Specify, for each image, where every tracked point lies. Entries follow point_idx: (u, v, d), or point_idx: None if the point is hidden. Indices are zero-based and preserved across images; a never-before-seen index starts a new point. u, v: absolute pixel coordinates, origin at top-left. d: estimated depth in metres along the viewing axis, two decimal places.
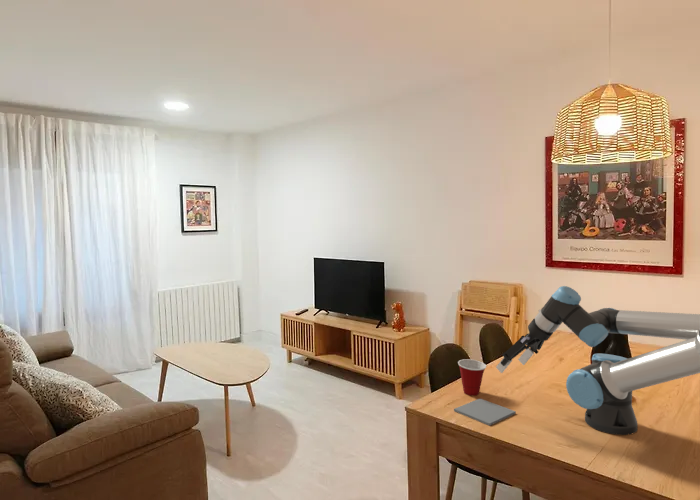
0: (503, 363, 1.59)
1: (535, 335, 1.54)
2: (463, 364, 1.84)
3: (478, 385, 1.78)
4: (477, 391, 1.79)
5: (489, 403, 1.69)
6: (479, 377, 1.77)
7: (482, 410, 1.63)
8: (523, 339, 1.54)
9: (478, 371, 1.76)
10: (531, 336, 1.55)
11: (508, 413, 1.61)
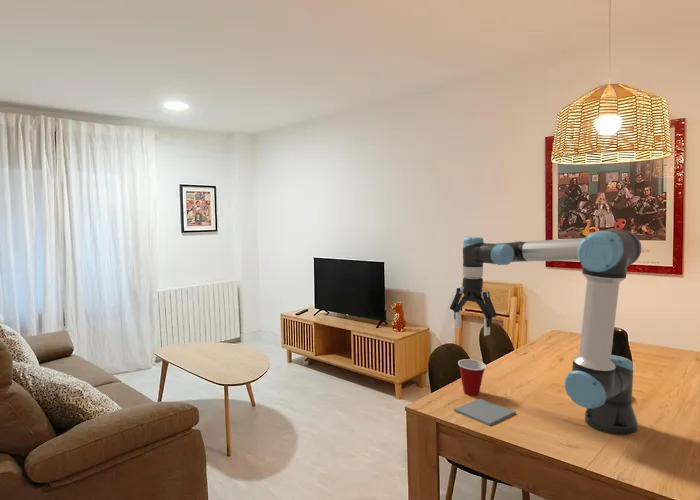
0: None
1: None
2: (463, 364, 1.84)
3: (478, 385, 1.78)
4: (477, 391, 1.79)
5: (489, 403, 1.69)
6: (479, 377, 1.77)
7: (482, 410, 1.63)
8: None
9: (478, 371, 1.76)
10: None
11: (508, 413, 1.61)
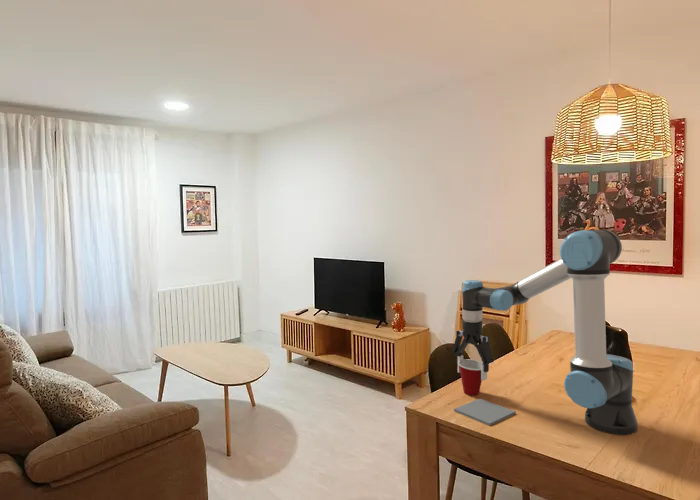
0: None
1: None
2: (463, 364, 1.84)
3: (478, 385, 1.78)
4: (477, 391, 1.79)
5: (489, 403, 1.69)
6: (479, 377, 1.77)
7: (482, 410, 1.63)
8: None
9: (478, 371, 1.76)
10: None
11: (508, 413, 1.61)
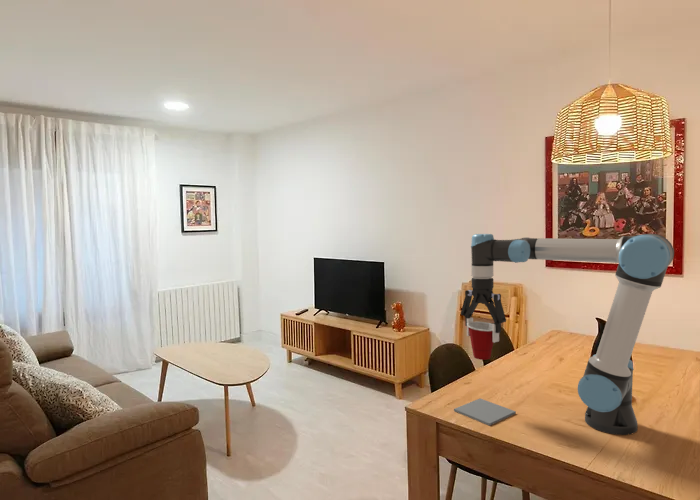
0: None
1: None
2: (472, 327, 1.69)
3: (489, 348, 1.63)
4: (488, 355, 1.63)
5: (489, 403, 1.69)
6: (490, 339, 1.62)
7: (482, 410, 1.63)
8: None
9: (489, 332, 1.61)
10: None
11: (508, 413, 1.61)
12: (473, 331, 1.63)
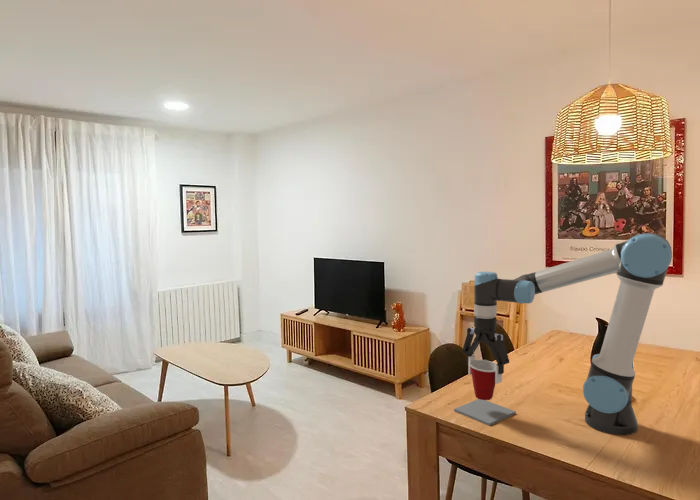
0: None
1: None
2: (474, 365, 1.66)
3: (492, 388, 1.60)
4: (490, 395, 1.61)
5: (489, 403, 1.69)
6: (493, 379, 1.59)
7: (482, 410, 1.63)
8: None
9: (491, 372, 1.58)
10: None
11: (508, 413, 1.61)
12: (475, 371, 1.60)
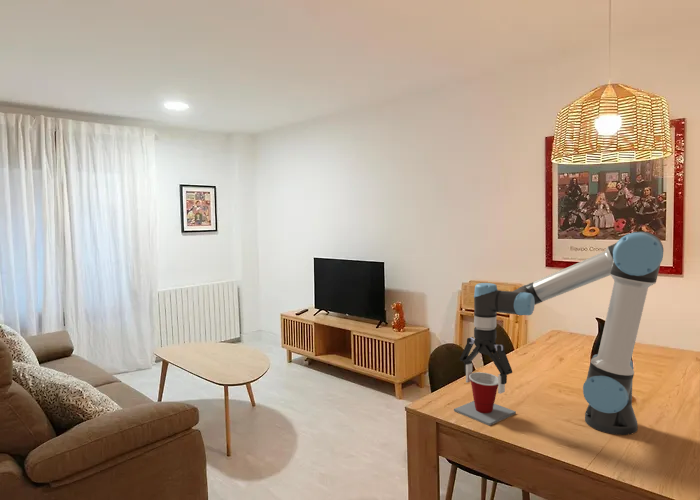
0: None
1: None
2: (474, 378, 1.67)
3: (492, 402, 1.60)
4: (490, 408, 1.61)
5: None
6: (493, 393, 1.59)
7: None
8: None
9: (491, 386, 1.58)
10: None
11: (508, 413, 1.61)
12: (475, 384, 1.60)
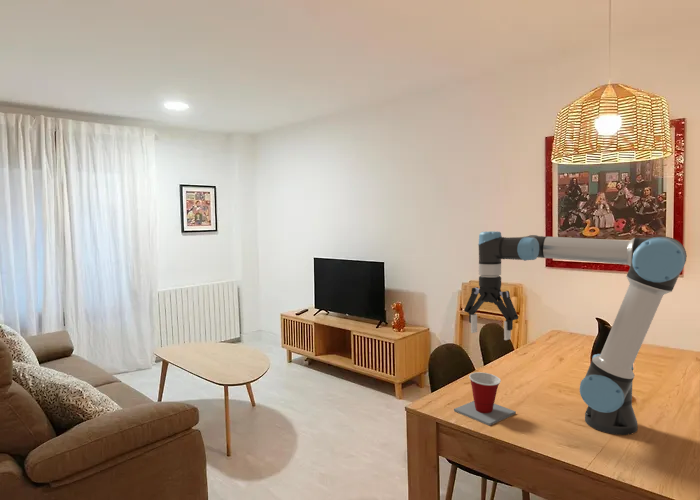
0: None
1: None
2: (474, 378, 1.67)
3: (492, 402, 1.60)
4: (490, 408, 1.61)
5: None
6: (493, 392, 1.59)
7: None
8: None
9: (491, 386, 1.58)
10: None
11: (508, 413, 1.61)
12: (475, 384, 1.60)
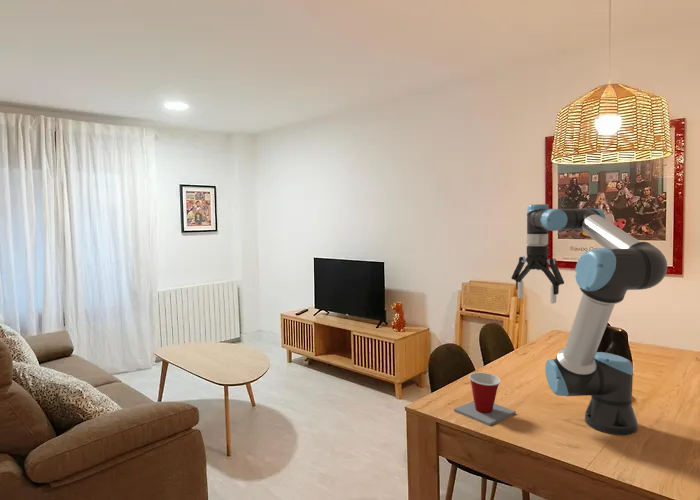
0: None
1: None
2: (474, 378, 1.67)
3: (492, 402, 1.60)
4: (490, 408, 1.61)
5: None
6: (493, 392, 1.59)
7: None
8: None
9: (491, 386, 1.58)
10: None
11: (508, 413, 1.61)
12: (475, 384, 1.60)
